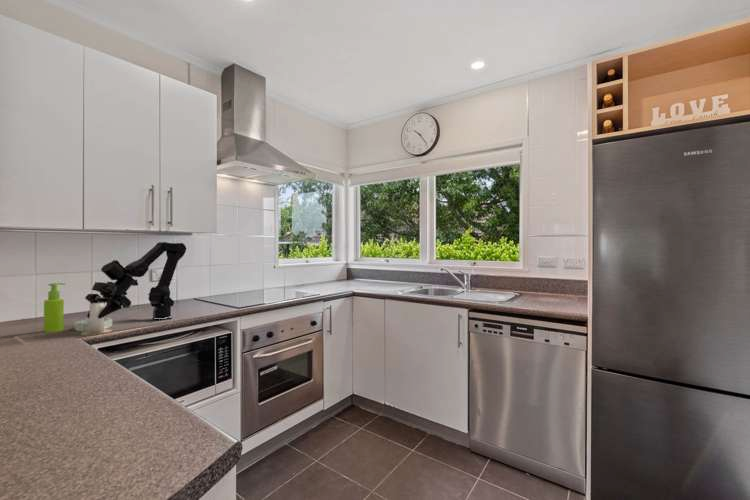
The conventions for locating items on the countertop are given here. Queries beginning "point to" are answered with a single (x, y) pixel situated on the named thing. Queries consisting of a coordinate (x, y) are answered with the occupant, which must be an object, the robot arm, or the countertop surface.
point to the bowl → (85, 324)
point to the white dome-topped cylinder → (96, 317)
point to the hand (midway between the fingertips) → (93, 317)
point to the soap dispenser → (53, 310)
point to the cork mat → (96, 333)
